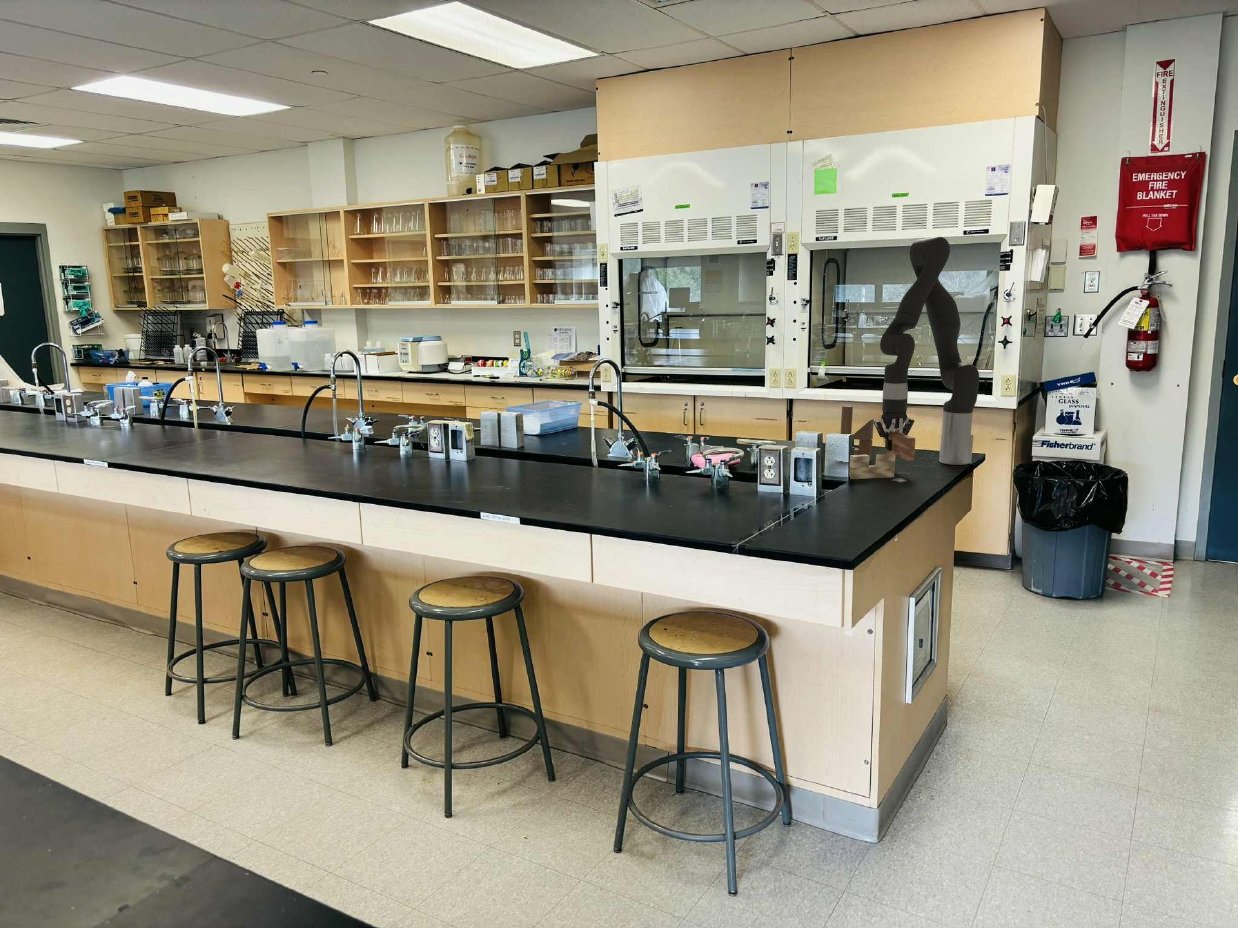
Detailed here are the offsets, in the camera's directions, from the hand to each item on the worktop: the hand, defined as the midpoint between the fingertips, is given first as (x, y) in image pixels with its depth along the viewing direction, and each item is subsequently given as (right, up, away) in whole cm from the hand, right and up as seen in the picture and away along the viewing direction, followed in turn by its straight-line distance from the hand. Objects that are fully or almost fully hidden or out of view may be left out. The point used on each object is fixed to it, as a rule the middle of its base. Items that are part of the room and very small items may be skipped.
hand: (892, 450), depth 276 cm
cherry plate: (+1, -2, -4) cm, 4 cm away
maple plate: (-10, -9, -9) cm, 16 cm away
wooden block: (-7, -3, +18) cm, 20 cm away
